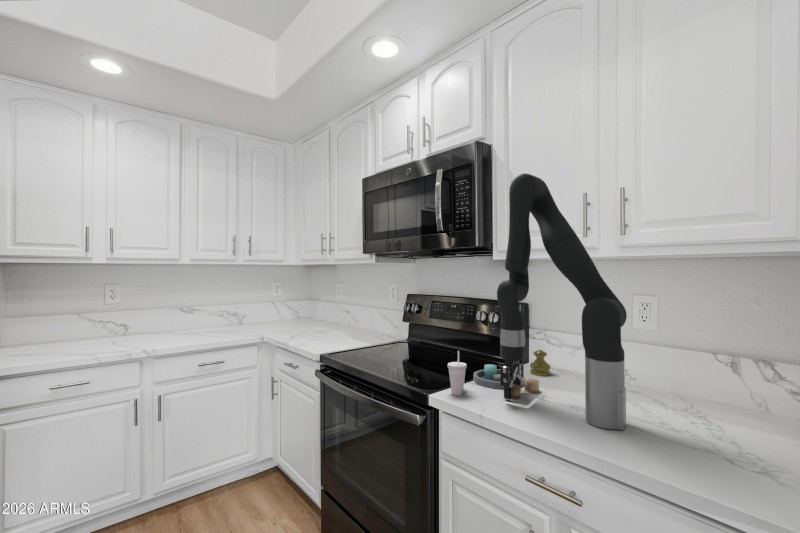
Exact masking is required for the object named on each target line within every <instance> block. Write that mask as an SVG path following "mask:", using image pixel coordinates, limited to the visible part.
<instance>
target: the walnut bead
mask: <svg viewBox="0 0 800 533" xmlns="http://www.w3.org/2000/svg"><path fill="white" fill-rule="evenodd" d="M519 399H521V392H520V386H519V385H517V384H512V399H511V400H519Z"/></svg>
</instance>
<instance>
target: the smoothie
mask: <svg viewBox="0 0 800 533" xmlns="http://www.w3.org/2000/svg"><path fill="white" fill-rule="evenodd" d="M447 368H448V374H449V382H450V383H449V384H450V390H451V395H454V396H462V395H463V394H464V389H465V388H464V387H465V386H464V385H465V377H466V369H467V368H468V366H467V363H465V362H461V361H460V350H457V361H450V362H448V363H447Z"/></svg>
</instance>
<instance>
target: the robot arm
mask: <svg viewBox="0 0 800 533" xmlns="http://www.w3.org/2000/svg"><path fill="white" fill-rule="evenodd" d="M508 193H509V195H508V198H509V216H508V217H509V221H508V222H509V223H508V240H507V249H506V256H505V262H504V268H505V270H506V271H508V276H509V277H508V279H507V280H506V279H505V280H503V281H502V282H500V284H498V286H497V291H496V298H497V304H498V309H499V312H500V315H501V317H500V334H499V340H500V341H499V343H500V344H499V347H500V348H499V350H500V351H499V355H500V356H499V357H500V358H501V359H503V360H504V365H501V366H500V369H501V381H500V384H501V386H504V389H503V398H504V400H507V401H510V400H513V399H512V383H513V384H517V385H519V386H520V393H521V392H522V387H521V380H522V378H523V376H524V368H525V367H524V364H525V363H524V360H525V359H526V335H525V334H526V333H525V314H524V312H523V311H522V310H520V307H519V302H522V301H524V300H525V299H526V298H527V296H528V293H529V290H530V280H529V279H530V277H529V264H530V257H531V248H532V241H531V239H532V238H531V233H530V231H531V230H530V214H532V216H533V218H534V219H535V220H536V222H537V225H538V227H539V232H540V235H541V241H542V244H543V246H544V249H545V251H546V253H547V254H548V256H549V257H550V259H551V261H552V263H553V264H554V266H555V267H556V268H557V270H558V271H560V273H561V274H562V275H563V276H564V277H565V278H566V279H567V280H568V281H569V282H570V283H571V284H572V285H573V286H574V287H575V289H576V290H577V292H579V294H580V296H581V298H582V300H583V302H584V304H585V305H584V306H583V309H582V313H581V335H582V336H581V337H582V340H581V341H582V346H583V350H584V367H585V368H584V369H585V371H584V374H585V375H584V382H585V384H584V385H585V386H584V387H585V389H584V391H585V392H584V395H585V398H584V401H585V402H584V404H585V406H584V407H585V408H584V410H585V411H584V412H585V413H584V414H585V421H586V422H587V423H588V424H589V425H592V426H594V427H597V428H600V429H605V430H616V431H617V430H619V431H624V430H625V427H626V425H627V400H626V399H627V390H626V389H627V388H626V387H625V382H626V381H625V380H626V379H625V378H626V377H625V350H624V348H623V346H622V332H621V331H622V330H621V329H622V327H623V326H624V325H625V324H626V321H627V317H628V316H627V310H626V308H625V306H624V304H623V303H622V301H621V300H620V299H619V298H618V297H617V295H616V294H615V293H614V292H613V291H612V289H611V288H610V287H609V285H608V284H607V283H606V281H605V280H604V278H603V277H602V276H601V274H600V272H599V271H598V269H597V267H596V265H595V263H594V261H593V260H592V258H591V256H590V254H589V252H588V251H587V249H586V248H585V246H584V244H583V242H582V241H581V240H580V238H579V237H578V235H577V232H576V231H575V230H574V229H573V227H572V226H571V225H570V223H569V221H568V220H567V219H566V218H565V216H564V215H563V213H562V212H561V211H560V209H559V208H558V206H557V203H556V202H555V200H554V198H553V195H552V193H551V192H550V189H549V187H548V185H547V183H546V182H545V181H544V180H543V179H542V178H540V177H537V176H535V175H533V174H530V173H521V174H518V175H516V176H515V177H514V178H513V179H512V180H511V183H510V186H509V192H508ZM524 377H525V376H524ZM503 378H504V381H503ZM506 381H507V382H506Z"/></svg>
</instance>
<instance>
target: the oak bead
mask: <svg viewBox="0 0 800 533" xmlns="http://www.w3.org/2000/svg"><path fill="white" fill-rule="evenodd" d="M539 386H540V382H539V380H538V379H534V378H526V379H525V385H524V392H525V393H528V394H538V393H539V392H540V387H539ZM539 395H540V394H538V395H537V397H539Z"/></svg>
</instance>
